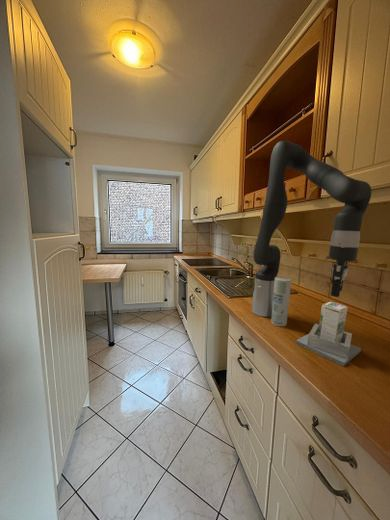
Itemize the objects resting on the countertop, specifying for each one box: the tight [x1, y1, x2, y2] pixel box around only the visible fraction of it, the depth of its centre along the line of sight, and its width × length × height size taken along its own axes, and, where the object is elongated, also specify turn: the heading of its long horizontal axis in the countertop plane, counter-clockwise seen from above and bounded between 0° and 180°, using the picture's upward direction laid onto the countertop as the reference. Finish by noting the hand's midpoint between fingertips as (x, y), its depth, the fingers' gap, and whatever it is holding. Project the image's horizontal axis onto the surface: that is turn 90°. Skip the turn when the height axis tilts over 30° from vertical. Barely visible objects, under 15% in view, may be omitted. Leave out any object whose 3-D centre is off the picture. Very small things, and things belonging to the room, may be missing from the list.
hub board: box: [295, 333, 362, 367], centre depth 73 cm, size 15×14×1 cm
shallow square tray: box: [307, 323, 353, 359], centre depth 72 cm, size 11×11×4 cm
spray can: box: [270, 276, 292, 327], centre depth 90 cm, size 6×6×20 cm
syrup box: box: [318, 301, 348, 343], centre depth 72 cm, size 6×6×14 cm
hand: (336, 293), depth 70 cm, fingers open, 8 cm apart
